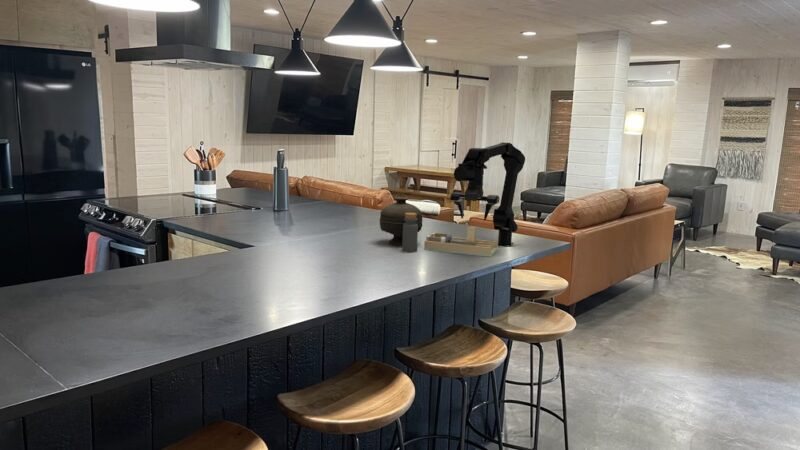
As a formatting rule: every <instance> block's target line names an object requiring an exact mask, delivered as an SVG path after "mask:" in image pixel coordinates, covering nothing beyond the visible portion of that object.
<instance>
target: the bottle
mask: <svg viewBox="0 0 800 450" xmlns="http://www.w3.org/2000/svg"><path fill="white" fill-rule="evenodd" d="M416 216H417V214H416V213H405V218H404V220H405V221H406V223H404V224H403V242H402V246H401V248H402V249H401V250H402V252H403V253H416V252H418V251H417V250H418V237H419V236H418V233H419V232H418V225H417V224H416V221H417V218H416Z"/></svg>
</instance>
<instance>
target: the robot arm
mask: <svg viewBox="0 0 800 450" xmlns="http://www.w3.org/2000/svg"><path fill="white" fill-rule="evenodd" d="M497 156H500V158H501V159H502V160H503V167H504V170H505V176H504V183H503V187H502V191H501V198H500V196H499V195H495V194H489V195H487V196H484V189H483V186H484V170H487V169H488V166H487V165H486V164H485V163H487V162H488V161H489V160H490V159H491V158H494V157H497ZM525 163H526V157H525V155H524V154H523V152H522V151H521V150H520V149H518V148H516V147H515V146H514V144H512V143H511V142H504V141H503V142H500V143H497V144H494V145H490V146H487V147H479V148H478V147H471V148H470V147H469V149H468V151H467V153H466V154H465V157H464V158H463V161H462V162H461V163H458V166H456V168H455V169H454V170H453V177H454V179H455V181H457V182H468V183H467V187H466V189H465V191H464V193H463V192H458V191H455V192H452V193H450V197H449V199H450V200H449V201H453V203H455V204H456V206H457V208H458V211H459V214H460V218H461V219H464V215H465V213H464V210H465V209H464V207H465V206H464V205H465V201H471V202H476V201H481V202H487V203H485V209H484V217H483V221H487V218H488V216H489V213H490V210H492V207H494V206H495V205H496V204H499V203H500V205H499V206H498V207H497V208H495V209H494V210H493V216H492V223H493V228H494V230H496V231H497V230H498V234H497V235H498V236H497V242H498V246H507V247H512V245H514V242H512V241H513V240H512V239H513V238H512V237H513V233H516V232H517V231H518V224H517V222H516V221H515V213H514V210H513V208H512V207H513V202H514V198H515V192H516V187H517V181H518V177H519V173H520V172H521V171H522V170H523V169H524V166H525Z"/></svg>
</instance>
